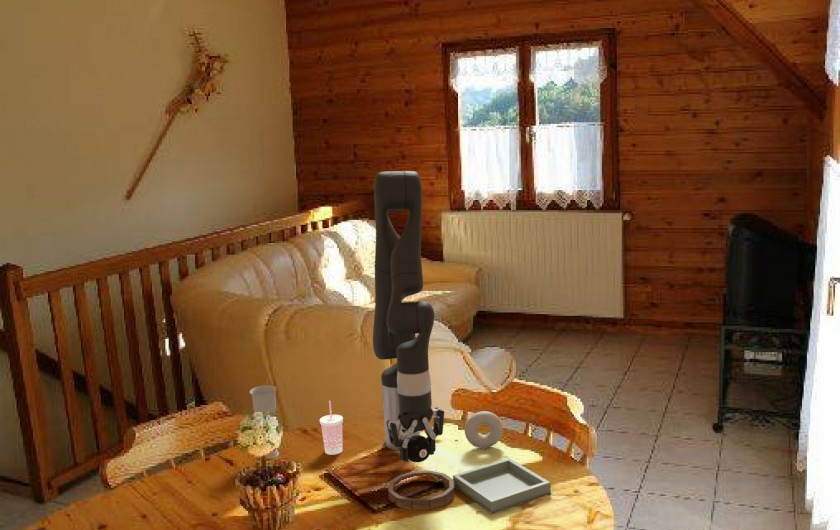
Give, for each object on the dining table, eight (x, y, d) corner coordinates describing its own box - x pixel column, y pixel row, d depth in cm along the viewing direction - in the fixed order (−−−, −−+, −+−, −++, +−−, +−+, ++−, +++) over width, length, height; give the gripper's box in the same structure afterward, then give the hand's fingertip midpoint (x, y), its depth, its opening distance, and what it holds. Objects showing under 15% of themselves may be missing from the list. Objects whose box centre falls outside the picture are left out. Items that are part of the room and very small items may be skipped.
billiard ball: (412, 469, 182) (410, 444, 181) (400, 459, 187) (399, 434, 186) (435, 462, 185) (434, 438, 183) (423, 452, 190) (422, 428, 189)
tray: (453, 486, 190) (452, 475, 189) (509, 468, 197) (509, 458, 197) (491, 513, 176) (491, 501, 176) (550, 493, 184) (550, 482, 183)
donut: (466, 452, 208) (464, 415, 206) (464, 447, 212) (462, 410, 210) (504, 448, 209) (503, 412, 207) (502, 443, 213) (500, 407, 211)
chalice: (276, 461, 210) (270, 395, 206) (251, 460, 211) (245, 394, 208) (286, 449, 217) (280, 385, 213) (262, 448, 218) (256, 384, 215)
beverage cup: (350, 448, 215) (346, 398, 212) (335, 457, 210) (331, 406, 207) (332, 444, 218) (327, 395, 216) (317, 453, 213) (313, 402, 211)
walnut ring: (378, 490, 190) (377, 481, 190) (433, 473, 197) (433, 465, 197) (408, 516, 177) (407, 507, 177) (466, 497, 184) (466, 488, 184)
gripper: (433, 376, 189) (436, 443, 192) (378, 390, 182) (382, 459, 186) (450, 386, 182) (453, 455, 186) (393, 400, 176) (397, 471, 179)
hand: (417, 457), depth 186 cm, fingers closed on billiard ball, 6 cm apart
